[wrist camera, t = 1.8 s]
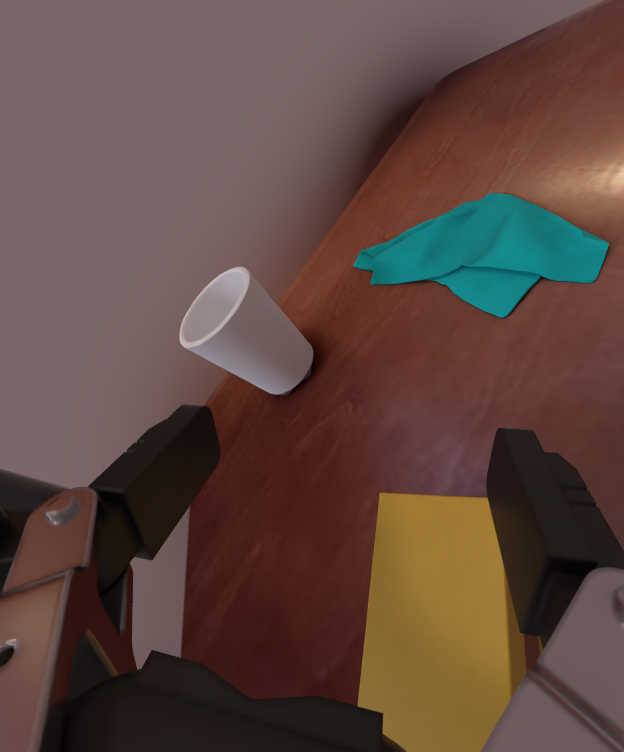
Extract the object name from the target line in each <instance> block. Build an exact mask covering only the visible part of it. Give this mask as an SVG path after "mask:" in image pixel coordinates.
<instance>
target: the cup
mask: <svg viewBox="0 0 624 752" xmlns="http://www.w3.org/2000/svg"><path fill="white" fill-rule="evenodd" d="M180 342H181V344H182V345H183V346H184V347H185V348H186V349H188V350H190V351H192V352H194V353H196V354H198V355H200V356H201V357H203V358H205V359H207V360H209V361H211V362H212V363H214V364H216V365H218V366H220V367H222V368H224V369H226V370H227V371H229V372H231V373H233V374H235V375H237V376H239V377H240V378H242V379H244V380H246V381H248V382H250V383H252V384H253V385H255V386H257V387H259V388H261V389H263V390H265V391H267V392H268V393H270V394H278V395H288V394H290V393H291V391H292V389H293V388H294V387H295V386H297V385H298V384H299V383H300V382H302V381H303V380H306V379H307V378H309V377H310V375H311V367H312V360H313V354H314V350H313V348H312V346H311V345H310V343H309V342H308V341H307V340H306V339H305V338H304V336H303V335H302V334H301V333H300V332H299V330H298V329H297V328H296V327H295V326H294V325H293V323H292V322H291V321H290V320H289V319H288V317H287V316H286V315H285V314H284V313H283V312H282V310H281V309H280V308H279V307H278V306H277V304H275V302H274V301H273V300H272V299H271V297H270V296H269V295H268V294H267V293H266V292H265V291H264V289H263V288H262V287H261V286H260V284H259V283H258V282H257V281H256V280H255V278H254V277H253V276H252V275H251V274H250V273H249V272H248V270H247V269H246V268H244V267H236V268H233V269H230V270H228V271H226V272H224V273H222V274H221V275H219V276H218V277H217V278H215V279H214V280H213V281H212V282H211V283H210V284H208V285H207V286H206V288H205V289H204V290H203V291H202V292H201V293H200V294H199V295H198V297H197V298H196V300H195V301H194V302H193V304H192V305H191V307H190V308H189V310H188V311H187V313H186V315H185V317H184V319H183V321H182V325H181V328H180Z"/></svg>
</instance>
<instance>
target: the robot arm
mask: <svg viewBox="0 0 624 752" xmlns="http://www.w3.org/2000/svg"><path fill="white" fill-rule="evenodd" d="M219 458H220V445H219V440H218V436H217V432H216V428H215V424H214V420H213V415H212V412H211V410H210V408H209V407H207V406H196V405H182V406H180V407H179V408H178V409H177V410H176V411H175V412H174V413H173V414H172V415H171V416H170V417H169V418H168V419H166V420H164V421H162V422H160V423H158V424H157V425H155V426H153V427H152V428H150V429H149V430H147V431H146V433H144V434H143V435H142V436H141V437H140V438H139V439H138V440H137V443H134V444H133V445H132V446H131V447H129V448H128V449H127V452H124V453H123V454H122V455H121V456H120V457H119V458H118V459H117V460H116V461H115V462H114V463H112V464H111V465H110V467H108V468H107V469H106V470H105V471H104V472H103V473H102V474H101V475H100V476H99V477H98V478H97V479H96V480H95V481H93V482H92V483H91V484H90V485H89V486H88V487H78V488H72V489H70V488H67V487H63V486H60V485H56V484H53V483H49V482H46V481H42V480H38V479H35V478H31V477H28V476H24V475H21V474H17V473H14V472H10V471H7V470H3V469H0V752H407V751H406V750H405V749H403V748H402V747H401V746H400V745H399V744H398V743H396V742H395V741H393V740H392V739H390V738H389V737H387V736H386V735H384V734H383V713H380V712H377V711H373V710H369V709H366V708H362V707H359V706H355V705H351V704H348V703H344V702H340V701H337V700H333V699H329V698H326V697H322V696H306V697H289V698H273V699H252V698H249V697H247V696H246V695H244V694H243V693H241V692H240V691H239V690H237V689H236V688H235V687H233V686H232V685H230V684H229V683H228V682H226V681H225V680H224V679H222V678H221V677H219V676H218V675H217V674H215V673H214V672H213V671H211V670H210V669H208V668H207V667H206V666H204V665H203V664H201V663H198V662H194V661H190V660H187V659H183V658H179V657H175V656H172V655H168V654H165V653H161V652H157V651H153V650H152V651H151V653H150V654H149V656H148V658H147V660H146V662H145V663H144V665H143V667H142V669H139V670H137V667H136V663H135V659H134V655H133V649H132V603H133V598H132V597H133V570H132V567H131V565H130V562H131V560H132V559H133V558H134V557H137V558H142V559H147V560H153V558H154V557H155V555H156V554H157V553H158V551H159V550H160V548H161V547H162V545H163V544H164V542H165V541H166V539H167V538H168V536H169V535H170V534H171V532H172V531H173V529H174V527H175V526H176V525H177V523H178V522H179V520H180V519H181V518H182V516H183V515H184V513H185V512H186V510H187V509H188V507H189V506H190V504H191V503H192V501H193V500H194V499H195V497H196V496H197V494H198V493H199V491H200V490H201V488H202V487H203V485H204V484H205V483H206V481H207V480H208V478H209V477H210V475H211V474H212V472H213V471H214V469H215V468H216V466H217V464H218V462H219ZM487 497H488V502H489V506H490V510H491V515H492V519H493V523H494V527H495V531H496V535H497V540H498V544H499V548H500V552H501V556H502V560H503V565H504V569H505V573H506V577H507V581H508V585H509V590H510V594H511V598H512V602H513V606H514V610H515V615H516V619H517V623H518V627H519V631H520V633H523V634H528V635H533V636H538V637H540V640H541V644H542V647H543V651H542V653H541V655H540V657H539V658H538V660H537V662H536V663H535V665H534V666H533V665H532V666H531V667H530V669H529V670H528V672H527V673H526V675H525V676H524V678H523V680H522V681H521V683H520V685H519V686H518V688H517V690H516V691H515V693H514V695H513V697H512V698H511V700H510V702H509V703H508V705H507V707H506V709H505V710H504V712H503V714H502V715H501V717H500V719H499V720H498V722H497V724H496V726H495V727H494V729H493V731H492V732H491V734H490V736H489V738H488V739H487V741H486V743H485V744H484V746H483V748H482V750H481V751H480V752H624V551H623V549H622V548H621V546H620V544H619V542H618V541H617V539H616V537H615V535H614V534H613V532H612V530H611V528H610V527H609V525H608V523H607V521H606V520H605V518H604V516H603V515H602V513H601V511H600V509H599V508H598V507H596V502H595V501H594V499H593V497H592V495H591V494H590V492H589V491H587V487H586V485H585V483H584V481H583V480H582V478H581V476H580V474H579V473H578V471H577V469H576V468H574V467H573V466H572V465H571V464H570V463H569V462H567V461H566V460H565V459H564V458H563V457H562V456H560V455H559V454H558V453H548V452H544V450H543V448H542V446H541V444H540V442H539V440H538V438H537V436H536V434H535V433H534V431H532V430H520V429H507V428H498V429H497V431H496V434H495V439H494V444H493V449H492V453H491V458H490V463H489V468H488V473H487Z"/></svg>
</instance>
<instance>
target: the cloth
mask: <svg viewBox="0 0 624 752" xmlns="http://www.w3.org/2000/svg"><path fill="white" fill-rule="evenodd" d="M608 246H609V243H608V242H606V241H604V240H602V239H600V238H598V237H596V236H594V235H592V234H590V233H588V232H586V231H584V230H582V229H579V228H577V227H576V226H574V225H572V224H571V223H569V222H567V221H565V220H564V219H562V218H560V217H558V216H557V215H555V214H553V213H551V212H549V211H547V210H545V209H543V208H541V207H539V206H537V205H535V204H533V203H531V202H530V203H529V202H527V201H525V200H522V199H520V198H518V197H516V196H513V195H509V194H501V193H490V194H488V195H487V196H485V197H484V198H482V199H481V200H479V201H470V202H465V203H464V204H462V205H460V206H458V207H456V208H454V209H452V210H451V211H449V212H447V213H445V214H443V215H441V216H439V217H436V218H434V219H431V220H429V221H426V222H424V223H421V224H419V225H417V226H415V227H413V228H411V229H409V230H407V231H405V232H404V233H402V234H400V235H399V236H397V237H395V238H394V239H392V240H390V241H389V242H386V243H381V244H378V245H375V246H373V247H370V248H368V249H365V250H361V252H360V253H359V255H358V257H357V259H356V261H355V263H354V265H353V266H354V267H356V268H359V269H362V270H371V271H373V276H372V279H371V283H370V285H380V284H399V283H406V282H412V281H419V280H425V279H426V280H432V281H437V282H439V283H440V284H446V285H447V286H448V287H449V288H450V289H451V291H452V292H453V293H454V294H456V295H457V296H459V297H460V298H461V299H463V300H464V301H466V302H468V303H470V304H472V305H473V306H475V307H477V308H479V309H481V310H483V311H485V312H488V313H490V314H493V315H495V316H498V317H500V318H504V317H506V316H508V315H509V313H510V312H511V311H512V310H513V308H514V307H515V306H516V305H517V303H518V302H519V301H520V300H521V299H522V297H523V296H524V295H525V294H526V292H527V291H528V290H529V289H530V288H531V287H532V286H533V285H534V284H535V283H536V282H537V281H538V280H539V279H540V277H541V276H543V277H545V278H547V279H550V280H552V281H566V282H579V283H592V282H593V281H595V280H596V279H597V277H598V274H599V272H600V269H601V267H602V264H603V262H604V259H605V255H606V252H607V249H608Z"/></svg>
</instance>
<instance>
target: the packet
mask: <svg viewBox="0 0 624 752" xmlns="http://www.w3.org/2000/svg"><path fill="white" fill-rule="evenodd" d="M542 651H543V647H542V644H541V640H540V637H538V636H533V635H528V634H523V633H520V631H519V627H518V623H517V619H516V615H515V610H514V606H513V602H512V598H511V594H510V590H509V585H508V581H507V577H506V573H505V569H504V565H503V560H502V556H501V552H500V548H499V544H498V540H497V535H496V531H495V527H494V523H493V519H492V515H491V510H490V506H489V502H488V498H482V497H461V496H439V495H418V494H397V493H380V497H379V507H378V516H377V526H376V536H375V545H374V555H373V564H372V574H371V584H370V593H369V603H368V612H367V622H366V632H365V641H364V651H363V660H362V670H361V680H360V689H359V699H358V706H359V707H362V708H366V709H369V710H373V711H377V712H380V713H383V734H384V735H386V736H387V737H389V738H390V739H392V740H393V741H395V742H396V743H398V744H399V745H400V746H401V747H402V748H403V749H405V750H406V751H407V752H480V751H481V750H482V748H483V746H484V744H485V743H486V741H487V739H488V738H489V736H490V734H491V732H492V731H493V729H494V727H495V726H496V724H497V722H498V720H499V719H500V717H501V715H502V714H503V712H504V710H505V709H506V707H507V705H508V703H509V702H510V700H511V698H512V697H513V695H514V693H515V691H516V690H517V688H518V686H519V685H520V683H521V681H522V680H523V678H524V676H525V675H526V673H527V672H528V670H529V669H530V667H531V666H532V665H533V666H534V665H535V663H536V662H537V660H538V658H539V657H540V655H541V653H542Z"/></svg>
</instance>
